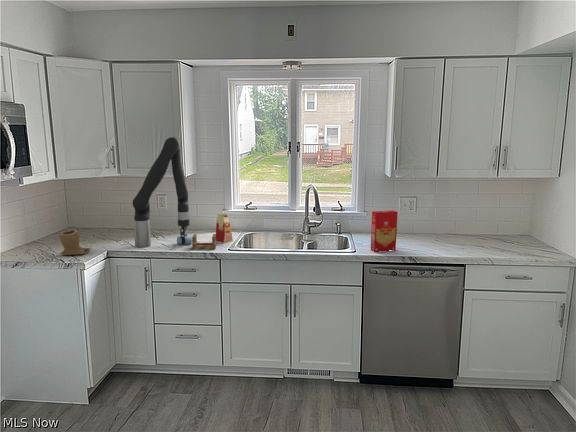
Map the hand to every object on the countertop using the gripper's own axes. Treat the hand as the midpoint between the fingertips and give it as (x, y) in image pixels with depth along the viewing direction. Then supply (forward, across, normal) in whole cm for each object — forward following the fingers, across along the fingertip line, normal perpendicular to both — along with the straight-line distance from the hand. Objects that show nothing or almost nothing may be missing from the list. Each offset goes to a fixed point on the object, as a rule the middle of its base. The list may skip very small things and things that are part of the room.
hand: (184, 242), depth 290 cm
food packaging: (+2, +22, +127) cm, 129 cm away
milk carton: (+2, -7, +25) cm, 26 cm away
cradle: (+1, +9, +14) cm, 17 cm away
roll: (-1, -1, 0) cm, 2 cm away
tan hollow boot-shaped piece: (+2, +21, -62) cm, 65 cm away
